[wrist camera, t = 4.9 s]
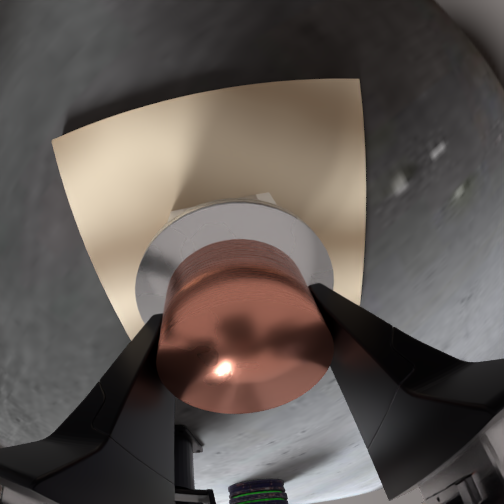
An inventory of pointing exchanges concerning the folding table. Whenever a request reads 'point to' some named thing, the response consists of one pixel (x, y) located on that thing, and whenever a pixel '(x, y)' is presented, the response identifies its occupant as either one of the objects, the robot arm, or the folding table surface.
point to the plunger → (237, 305)
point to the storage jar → (258, 492)
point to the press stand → (219, 172)
